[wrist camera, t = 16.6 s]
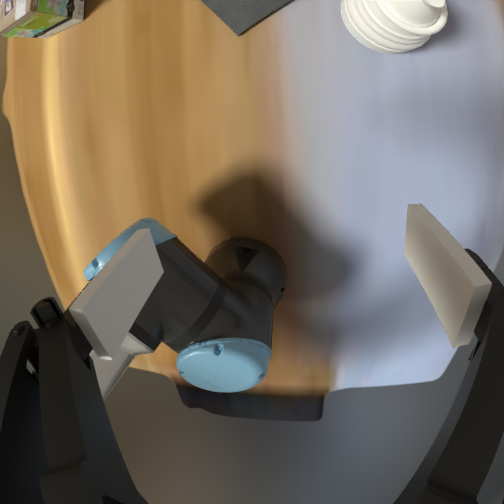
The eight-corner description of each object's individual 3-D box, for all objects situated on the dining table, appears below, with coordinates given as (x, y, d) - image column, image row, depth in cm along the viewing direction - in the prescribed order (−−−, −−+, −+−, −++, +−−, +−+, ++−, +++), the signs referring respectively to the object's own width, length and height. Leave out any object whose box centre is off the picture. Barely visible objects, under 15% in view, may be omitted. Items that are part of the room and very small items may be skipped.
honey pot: (417, 64, 32) (484, 57, 16) (338, 42, 33) (370, 11, 17) (420, -3, 25) (478, -35, 10) (341, -26, 26) (369, -80, 11)
